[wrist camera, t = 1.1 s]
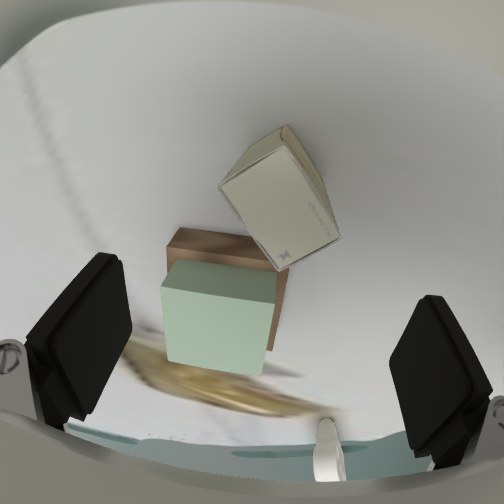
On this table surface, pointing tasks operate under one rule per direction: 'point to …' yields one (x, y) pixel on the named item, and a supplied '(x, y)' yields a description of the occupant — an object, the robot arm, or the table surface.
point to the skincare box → (281, 199)
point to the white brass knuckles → (328, 454)
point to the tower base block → (227, 259)
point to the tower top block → (218, 315)
